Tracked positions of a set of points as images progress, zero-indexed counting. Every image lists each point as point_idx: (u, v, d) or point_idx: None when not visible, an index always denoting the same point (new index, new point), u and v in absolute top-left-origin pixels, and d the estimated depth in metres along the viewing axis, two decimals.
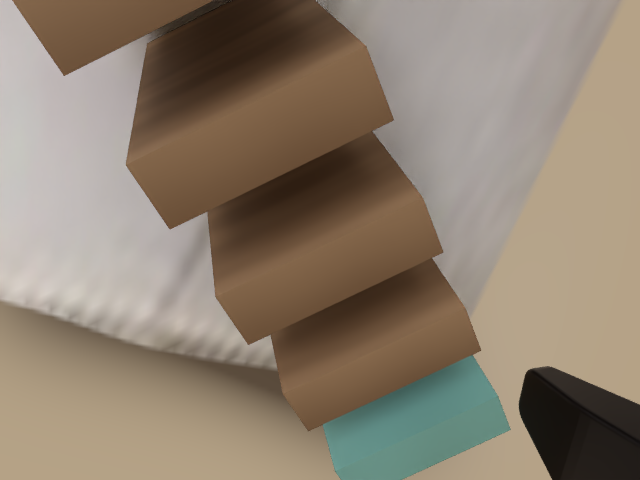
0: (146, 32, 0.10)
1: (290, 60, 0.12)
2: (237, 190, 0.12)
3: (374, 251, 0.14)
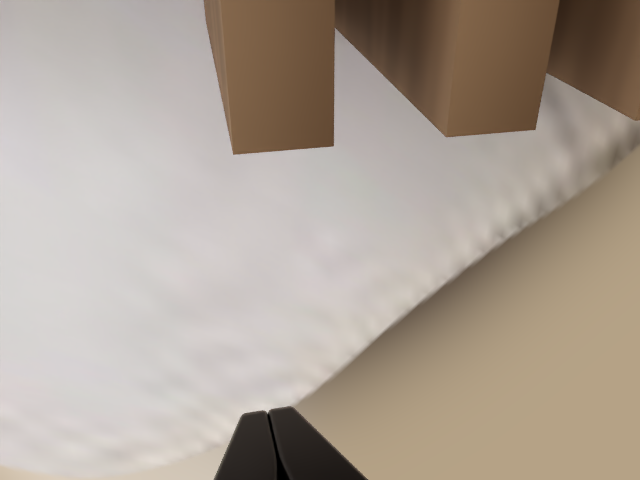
0: (332, 43, 0.09)
1: None
2: (547, 33, 0.10)
3: None
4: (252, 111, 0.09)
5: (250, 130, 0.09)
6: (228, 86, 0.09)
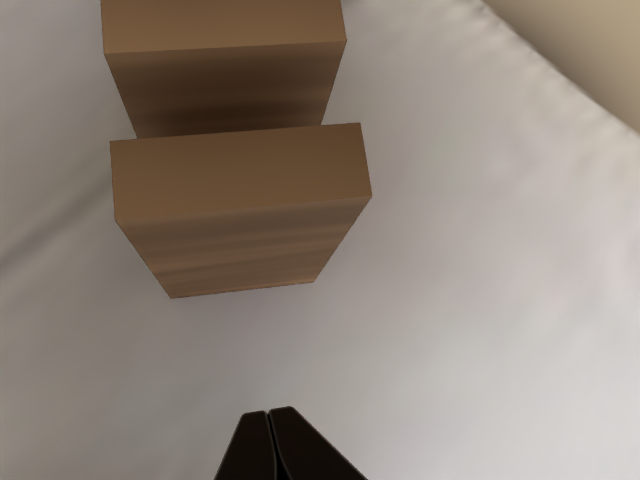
0: (283, 129, 0.12)
1: (176, 80, 0.14)
2: None
3: None
4: (336, 183, 0.12)
5: (352, 183, 0.12)
6: (319, 200, 0.12)
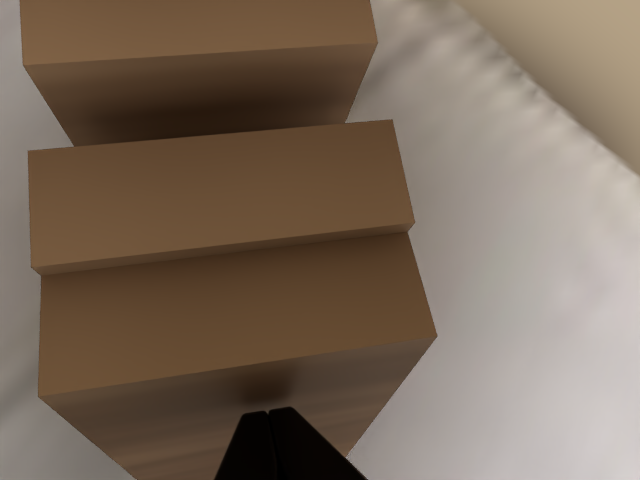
0: (297, 245, 0.09)
1: None
2: (285, 135, 0.09)
3: (126, 11, 0.09)
4: (382, 319, 0.08)
5: (405, 319, 0.08)
6: (358, 347, 0.08)
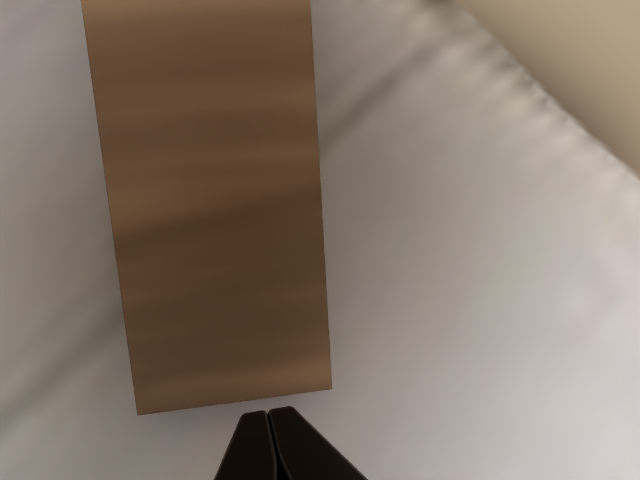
0: None
1: None
2: None
3: None
4: None
5: None
6: None
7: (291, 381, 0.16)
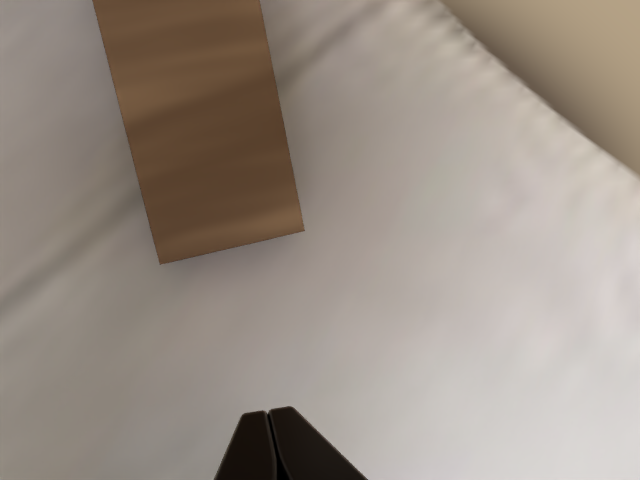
0: None
1: None
2: None
3: None
4: None
5: None
6: None
7: (272, 227, 0.21)
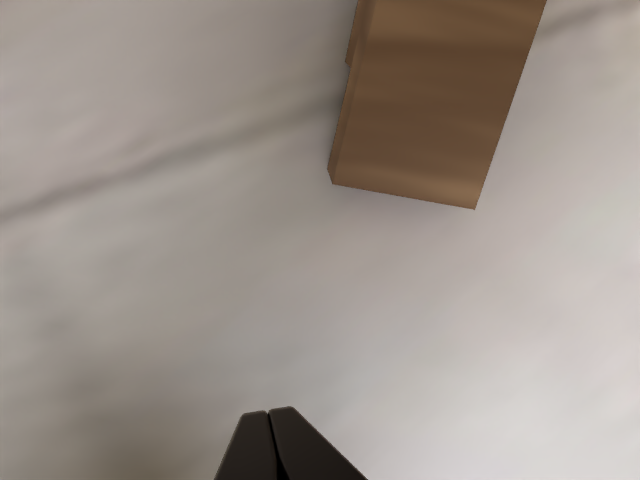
0: None
1: None
2: None
3: None
4: None
5: None
6: None
7: (449, 194, 0.21)
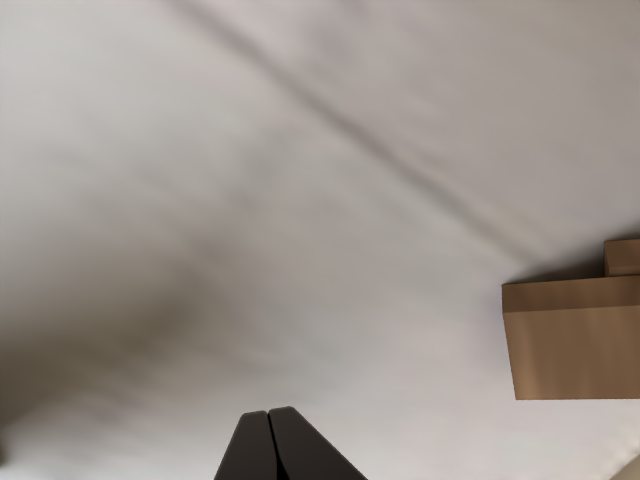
0: None
1: None
2: None
3: None
4: None
5: None
6: None
7: (522, 382, 0.25)
